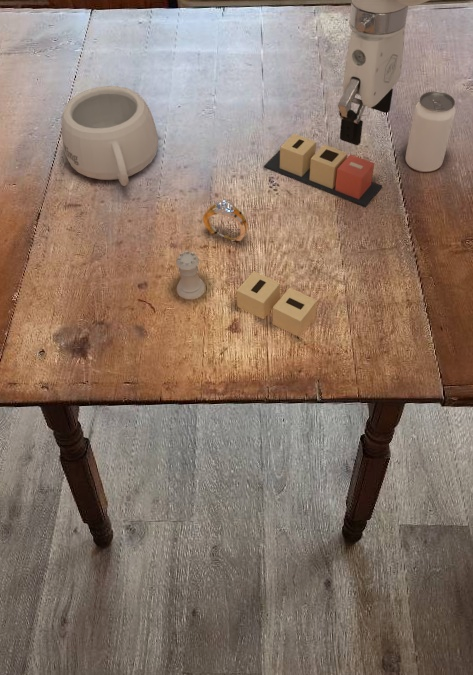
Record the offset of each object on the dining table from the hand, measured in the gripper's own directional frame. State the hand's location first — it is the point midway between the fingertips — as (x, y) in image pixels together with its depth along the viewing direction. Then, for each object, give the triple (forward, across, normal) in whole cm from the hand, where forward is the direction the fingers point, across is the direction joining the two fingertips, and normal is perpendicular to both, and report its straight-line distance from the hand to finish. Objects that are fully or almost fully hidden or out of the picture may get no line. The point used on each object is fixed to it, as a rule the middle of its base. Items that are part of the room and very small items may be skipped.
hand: (365, 125), depth 104 cm
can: (+13, +14, -6) cm, 20 cm away
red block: (+13, +1, +1) cm, 13 cm away
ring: (+13, -21, +12) cm, 28 cm away
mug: (+13, -15, +40) cm, 45 cm away
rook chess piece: (+14, -33, +10) cm, 37 cm away
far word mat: (+13, +1, +7) cm, 15 cm away
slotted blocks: (+14, -30, -5) cm, 34 cm away
